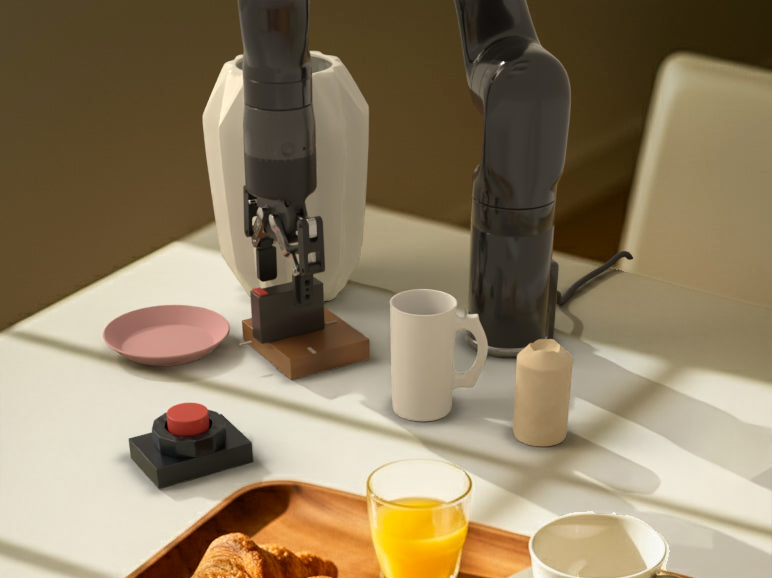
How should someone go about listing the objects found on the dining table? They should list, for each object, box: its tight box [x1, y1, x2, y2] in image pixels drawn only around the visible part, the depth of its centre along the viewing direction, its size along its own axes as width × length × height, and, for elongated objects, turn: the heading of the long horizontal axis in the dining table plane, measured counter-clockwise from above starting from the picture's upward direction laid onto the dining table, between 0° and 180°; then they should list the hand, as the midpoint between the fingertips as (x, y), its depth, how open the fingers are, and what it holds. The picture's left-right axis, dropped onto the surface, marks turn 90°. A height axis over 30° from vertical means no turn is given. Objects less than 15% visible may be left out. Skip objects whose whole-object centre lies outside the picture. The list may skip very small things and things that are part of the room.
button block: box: [128, 409, 254, 490], centre depth 132 cm, size 10×7×4 cm
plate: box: [102, 304, 231, 367], centre depth 154 cm, size 14×14×2 cm
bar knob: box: [249, 277, 325, 344], centre depth 150 cm, size 8×2×6 cm, turn 122°
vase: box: [202, 50, 370, 302], centre depth 161 cm, size 20×20×28 cm
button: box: [166, 402, 210, 436], centre depth 130 cm, size 4×4×2 cm
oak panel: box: [239, 306, 371, 381], centre depth 152 cm, size 13×12×3 cm
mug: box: [389, 288, 488, 422], centre depth 139 cm, size 10×7×12 cm, turn 84°
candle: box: [512, 339, 574, 447], centre depth 135 cm, size 6×6×10 cm
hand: (284, 292), depth 149 cm, fingers open, 8 cm apart
